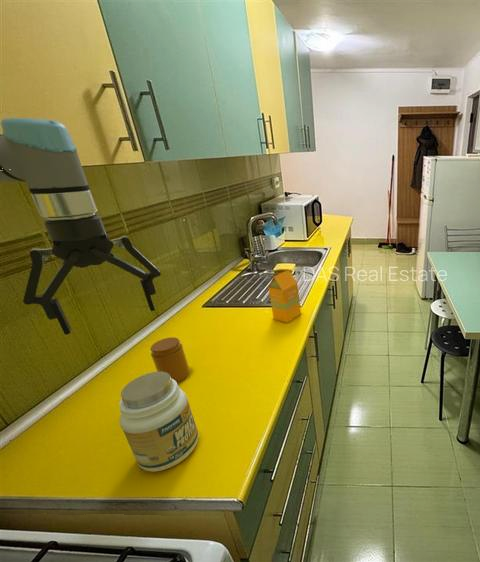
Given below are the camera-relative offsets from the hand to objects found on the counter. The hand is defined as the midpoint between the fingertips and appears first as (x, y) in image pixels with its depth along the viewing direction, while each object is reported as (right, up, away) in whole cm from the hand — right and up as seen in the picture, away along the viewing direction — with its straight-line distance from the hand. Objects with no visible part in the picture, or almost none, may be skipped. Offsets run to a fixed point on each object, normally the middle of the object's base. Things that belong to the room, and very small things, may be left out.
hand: (112, 319), depth 63 cm
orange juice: (+17, -7, +67) cm, 70 cm away
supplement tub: (+6, -32, +9) cm, 34 cm away
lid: (+6, -14, +1) cm, 16 cm away
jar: (-8, -22, +33) cm, 40 cm away
